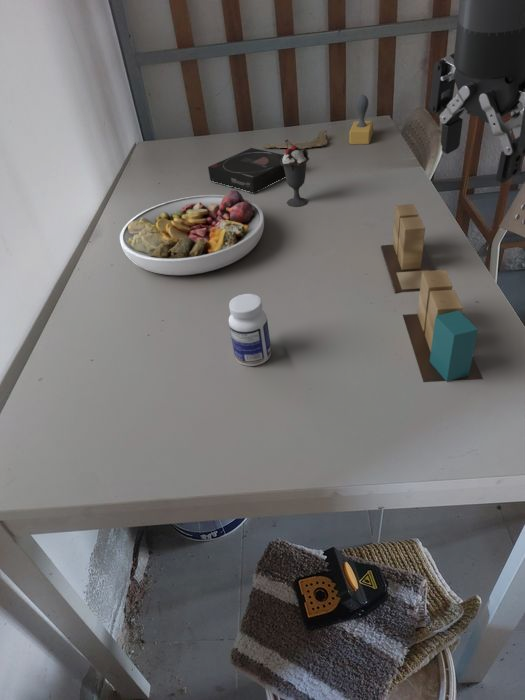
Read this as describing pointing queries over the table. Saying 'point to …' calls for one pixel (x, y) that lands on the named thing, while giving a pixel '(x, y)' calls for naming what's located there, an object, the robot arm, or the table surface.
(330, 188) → the table surface
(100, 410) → the table surface
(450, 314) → the teal upright block
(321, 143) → the jawbone
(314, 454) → the table surface
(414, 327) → the near word
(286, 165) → the sundae
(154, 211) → the bowl
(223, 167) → the black pizza box
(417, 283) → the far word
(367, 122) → the rubber stamp
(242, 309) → the pill bottle
